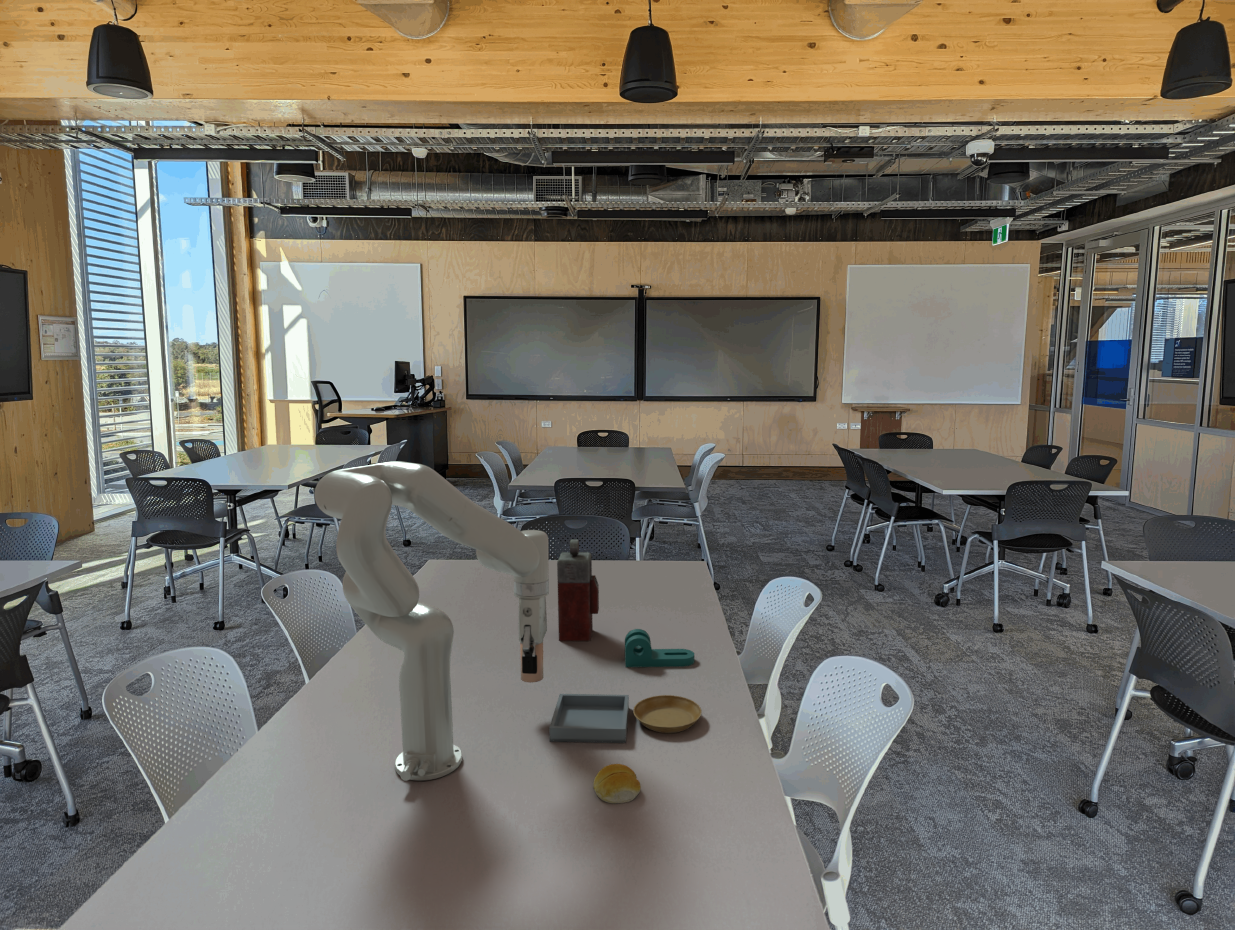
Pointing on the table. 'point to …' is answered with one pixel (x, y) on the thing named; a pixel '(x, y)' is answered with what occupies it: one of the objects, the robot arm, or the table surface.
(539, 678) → the shaker
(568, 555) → the red gray rectangular canister
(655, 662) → the bracket
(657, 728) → the plant saucer
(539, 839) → the table surface
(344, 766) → the table surface
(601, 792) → the bread roll
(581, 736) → the slate tray
